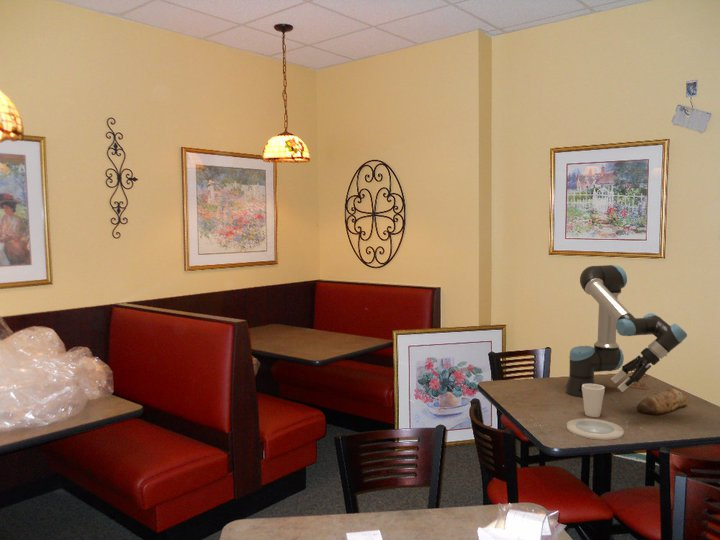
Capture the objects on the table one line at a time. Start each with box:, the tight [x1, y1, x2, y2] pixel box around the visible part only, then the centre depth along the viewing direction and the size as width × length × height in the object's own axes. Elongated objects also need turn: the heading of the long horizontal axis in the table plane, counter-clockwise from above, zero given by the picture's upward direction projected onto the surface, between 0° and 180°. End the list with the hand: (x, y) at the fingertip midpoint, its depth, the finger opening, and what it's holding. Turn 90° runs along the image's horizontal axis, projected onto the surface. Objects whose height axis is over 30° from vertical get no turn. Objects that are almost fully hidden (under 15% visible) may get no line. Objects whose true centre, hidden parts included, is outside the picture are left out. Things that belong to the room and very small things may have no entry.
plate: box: [566, 417, 625, 441], centre depth 241 cm, size 22×22×1 cm
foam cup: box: [582, 383, 606, 418], centre depth 260 cm, size 10×9×13 cm
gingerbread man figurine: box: [628, 369, 650, 391], centre depth 301 cm, size 9×4×12 cm, turn 50°
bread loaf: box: [636, 388, 687, 416], centre depth 268 cm, size 35×18×9 cm, turn 131°
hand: (616, 385), depth 257 cm, fingers open, 13 cm apart
